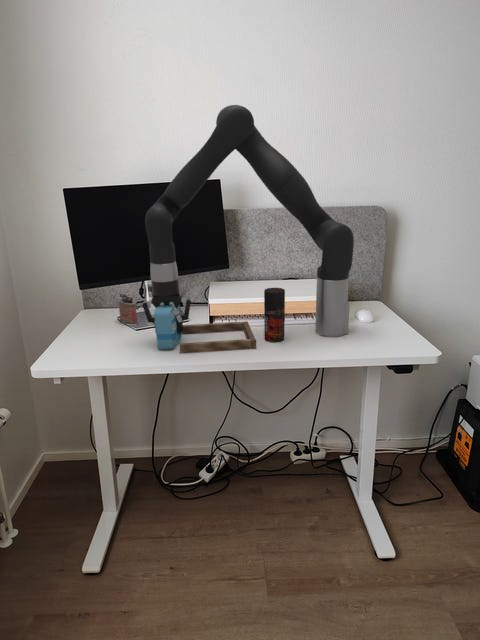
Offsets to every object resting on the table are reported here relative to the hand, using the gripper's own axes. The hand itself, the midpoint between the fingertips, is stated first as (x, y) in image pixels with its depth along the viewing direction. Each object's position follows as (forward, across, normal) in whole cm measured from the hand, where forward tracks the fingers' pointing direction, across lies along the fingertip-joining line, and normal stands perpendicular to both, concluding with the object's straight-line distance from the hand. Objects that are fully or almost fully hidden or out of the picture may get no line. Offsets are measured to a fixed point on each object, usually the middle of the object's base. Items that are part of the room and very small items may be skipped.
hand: (169, 334), depth 149 cm
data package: (+3, 0, 0) cm, 3 cm away
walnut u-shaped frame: (+3, -13, 0) cm, 13 cm away
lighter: (+3, +14, -21) cm, 25 cm away
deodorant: (+4, -31, +2) cm, 31 cm away
